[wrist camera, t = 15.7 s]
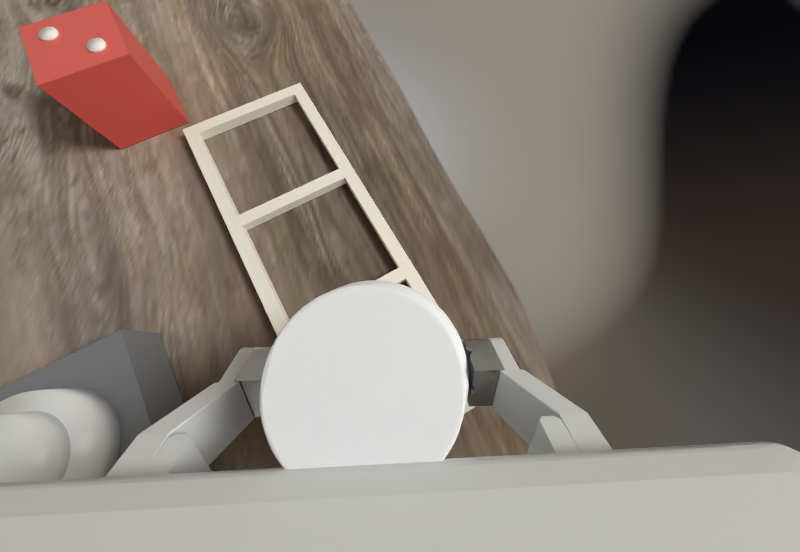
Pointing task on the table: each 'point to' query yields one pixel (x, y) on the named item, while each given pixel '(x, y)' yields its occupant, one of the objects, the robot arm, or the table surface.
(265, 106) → the track
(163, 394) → the dome base
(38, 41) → the die
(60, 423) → the dome
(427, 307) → the supplement bottle
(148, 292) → the table surface
